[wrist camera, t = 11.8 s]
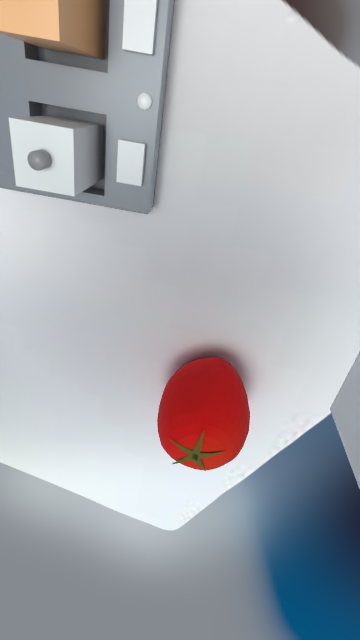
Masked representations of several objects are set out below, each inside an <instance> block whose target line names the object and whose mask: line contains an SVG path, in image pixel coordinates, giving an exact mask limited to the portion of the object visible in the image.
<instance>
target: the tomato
mask: <svg viewBox="0 0 360 640" xmlns="http://www.w3.org/2000/svg"><path fill="white" fill-rule="evenodd" d="M249 420H250V411H249V406H248V399H247V394H246V391H245V389H244V386H243V383H242V380H241V379H240V377H239V375H238V374H237V372H236V371H235V369H234V368H233V367H232V366H231V364H229V363H228V362H226V361H225V360H223V359H222V358H218V357H209V358H202V359H197V360H194V361H192V362H189V363H187V364H186V365H184V366H183V367H181V368H180V369H179V370H178V371H176V372H175V373H174V375H173V376H172V377H171V378H170V379H169V381H168V383H167V385H166V387H165V389H164V392H163V395H162V399H161V402H160V406H159V413H158V420H157V422H158V433H159V437H160V441H161V445H162V446H163V448H164V450H165V451H166V452H167V453H168V454H169V455H170V456H171V457H172V458H173V459H174V460H176V461H177V462H175V463H173V464H176V463H181V464H183V465H185V466H188V467H191V468H194V469H198V470H205V471H206V470H211V469H215V468H218V467H220V466H222V465H224V464H226V463H228V462H230V461H231V460H233V459H234V458H235V457H236V456H237V455H238V454H239V452H240V450H241V449H242V447H243V445H244V442H245V440H246V437H247V434H248V431H249Z"/></svg>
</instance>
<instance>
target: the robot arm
mask: <svg viewBox="0 0 360 640" xmlns="http://www.w3.org/2000/svg"><path fill="white" fill-rule="evenodd" d="M330 410H331V413H332V416H333V418H334V421H335V424H336V426H337V429H338V432H339V434H340V437H341V440H342V443H343V445H344V448H345V450H346V453H347V456H348V458H349V462H350V464H351V467H352V469H353V472H354V475H355V478H356V480H357V483H358V486H359V489H360V352H359V354H358V356H357V358H356V360H355V362H354V364H353V366H352V368H351V369H350V371H349V373H348V375H347V377H346V379H345V381H344V383H343V385H342V387H341V388H340V390H339V392H338V394H337V396H336V398H335V400H334V402H333V404H332V406H331V407H330Z"/></svg>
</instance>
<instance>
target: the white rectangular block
mask: <svg viewBox="0 0 360 640" xmlns="http://www.w3.org/2000/svg"><path fill="white" fill-rule="evenodd" d="M9 126H10V135H11V144H12V154H13V163H14V172H15V181H16V186H19V187H24V188H30V189H36V190H41V191H47V192H52V193H58V194H63V195H69V196H76V195H78V194H79V193H81V192H82V191H84V190H86V189H87V188H89V187H90V186H92V185H94V184H95V183H97V182H98V181H100V180H102V161H103V124H98V123H93V122H87V121H81V120H76V119H70V118H65V117H59V116H54V115H47V116H28V117H9Z"/></svg>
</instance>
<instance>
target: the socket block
mask: <svg viewBox="0 0 360 640" xmlns="http://www.w3.org/2000/svg"><path fill="white" fill-rule="evenodd" d="M173 9H174V0H106V16H105V60H103V59H97V58H92V57H86V56H80V55H75V54H69V53H64V52H58V51H53V50H48V49H45V48H42V47H39V46H36V45H33V44H30V43H27V42H24V41H21V40H18V39H15V38H12V37H9V36H6V35H3V34H0V188H5V189H10V190H16V191H22V192H27V193H33V194H38V195H44V196H49V197H55V198H61V199H66V200H72V201H77V202H83V203H88V204H94V205H100V206H105V207H111V208H116V209H122V210H127V211H133V212H138V213H144V214H148V213H149V212H150V210H151V209H152V207H153V201H154V191H155V182H156V172H157V162H158V153H159V143H160V134H161V124H162V115H163V105H164V95H165V86H166V76H167V67H168V57H169V47H170V38H171V28H172V19H173ZM47 115H54V116H59V117H65V118H70V119H76V120H81V121H87V122H93V123H98V124H103V161H102V180H100V181H98V182H97V183H95V184H94V185H92V186H90V187H89V188H87V189H86V190H84V191H82V192H81V193H79V194H78V195H76V196H69V195H63V194H58V193H52V192H47V191H41V190H36V189H30V188H24V187H19V186H16V181H15V172H14V163H13V154H12V144H11V135H10V126H9V117H28V116H47Z"/></svg>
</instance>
